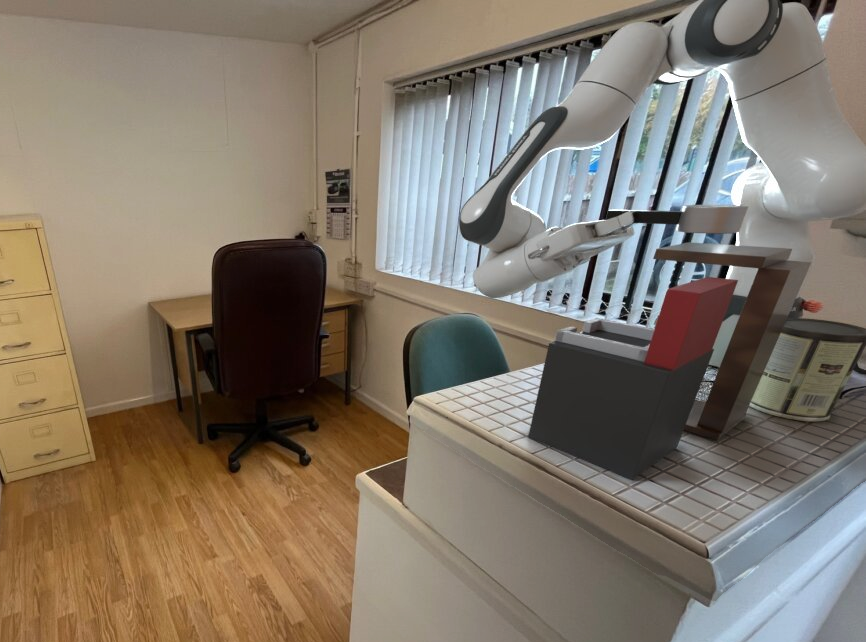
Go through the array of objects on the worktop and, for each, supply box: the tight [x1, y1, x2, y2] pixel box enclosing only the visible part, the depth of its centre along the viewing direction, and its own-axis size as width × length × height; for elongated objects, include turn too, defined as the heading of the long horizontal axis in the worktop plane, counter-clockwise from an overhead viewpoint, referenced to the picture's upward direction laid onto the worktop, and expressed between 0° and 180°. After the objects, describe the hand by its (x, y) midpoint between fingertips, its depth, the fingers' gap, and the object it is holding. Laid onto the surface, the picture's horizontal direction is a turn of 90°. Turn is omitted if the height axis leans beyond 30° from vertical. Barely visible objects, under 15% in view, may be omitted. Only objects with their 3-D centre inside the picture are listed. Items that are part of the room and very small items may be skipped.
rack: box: [652, 242, 811, 441], centre depth 71 cm, size 14×12×26 cm
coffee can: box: [749, 317, 866, 423], centre depth 73 cm, size 10×10×14 cm
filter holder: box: [605, 204, 748, 235], centre depth 70 cm, size 17×7×4 cm, turn 33°
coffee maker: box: [527, 276, 738, 481], centre depth 63 cm, size 14×14×24 cm
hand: (638, 215), depth 73 cm, fingers closed on filter holder, 2 cm apart
